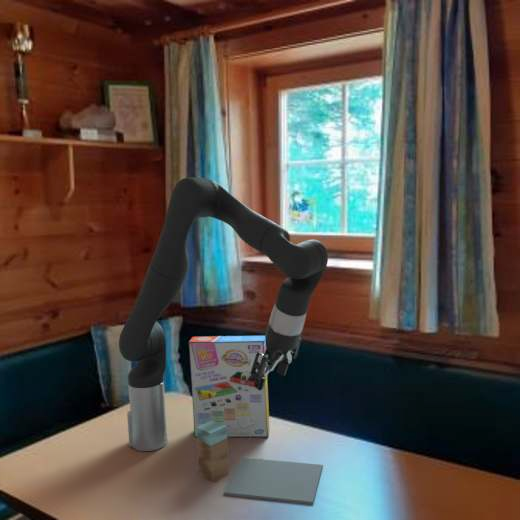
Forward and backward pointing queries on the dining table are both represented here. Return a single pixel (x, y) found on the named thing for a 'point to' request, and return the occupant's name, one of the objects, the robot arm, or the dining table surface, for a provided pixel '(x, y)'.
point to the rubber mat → (275, 480)
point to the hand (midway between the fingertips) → (269, 380)
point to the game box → (228, 384)
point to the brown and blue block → (212, 450)
